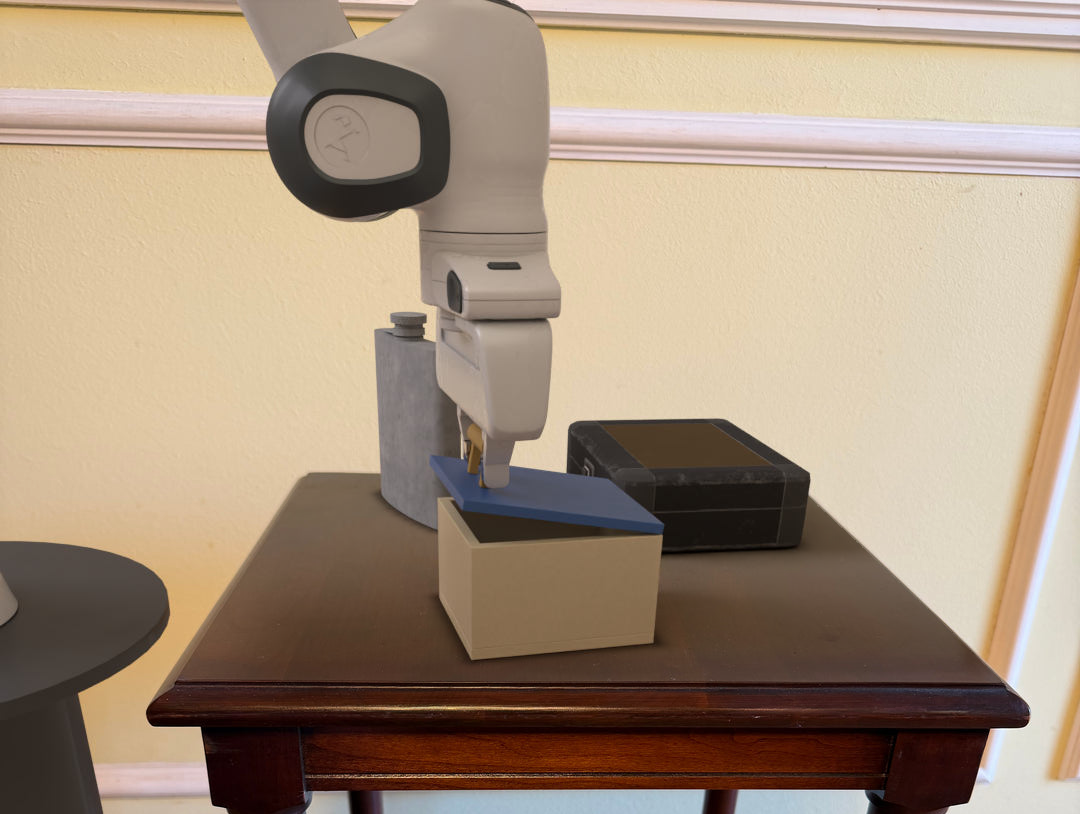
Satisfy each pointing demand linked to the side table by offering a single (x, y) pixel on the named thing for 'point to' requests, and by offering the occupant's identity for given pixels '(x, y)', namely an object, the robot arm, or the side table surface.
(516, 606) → the chest
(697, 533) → the cash box
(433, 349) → the hip flask
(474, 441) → the lid
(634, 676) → the side table surface
